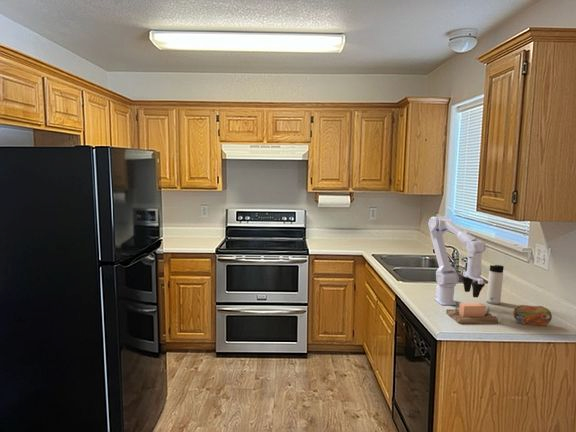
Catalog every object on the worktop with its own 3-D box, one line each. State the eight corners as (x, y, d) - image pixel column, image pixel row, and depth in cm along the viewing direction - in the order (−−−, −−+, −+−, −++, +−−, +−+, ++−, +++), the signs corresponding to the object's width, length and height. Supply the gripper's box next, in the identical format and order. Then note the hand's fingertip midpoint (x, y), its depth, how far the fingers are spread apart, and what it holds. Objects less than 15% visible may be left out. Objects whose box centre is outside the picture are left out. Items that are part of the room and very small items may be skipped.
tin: (514, 323, 181) (516, 305, 180) (511, 321, 184) (513, 303, 183) (551, 326, 179) (553, 308, 178) (547, 324, 182) (549, 305, 181)
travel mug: (492, 305, 204) (495, 266, 202) (483, 300, 211) (487, 263, 208) (503, 305, 205) (507, 266, 203) (494, 300, 212) (498, 263, 209)
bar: (479, 315, 189) (480, 302, 188) (484, 318, 185) (485, 305, 184) (458, 315, 188) (459, 303, 187) (463, 318, 184) (464, 306, 183)
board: (446, 313, 191) (446, 303, 191) (482, 313, 193) (483, 303, 192) (458, 323, 180) (459, 312, 179) (497, 323, 181) (498, 312, 180)
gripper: (458, 262, 196) (455, 289, 198) (473, 270, 182) (471, 299, 184) (472, 262, 197) (469, 289, 199) (489, 270, 182) (486, 299, 184)
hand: (471, 294), depth 191 cm, fingers open, 7 cm apart
